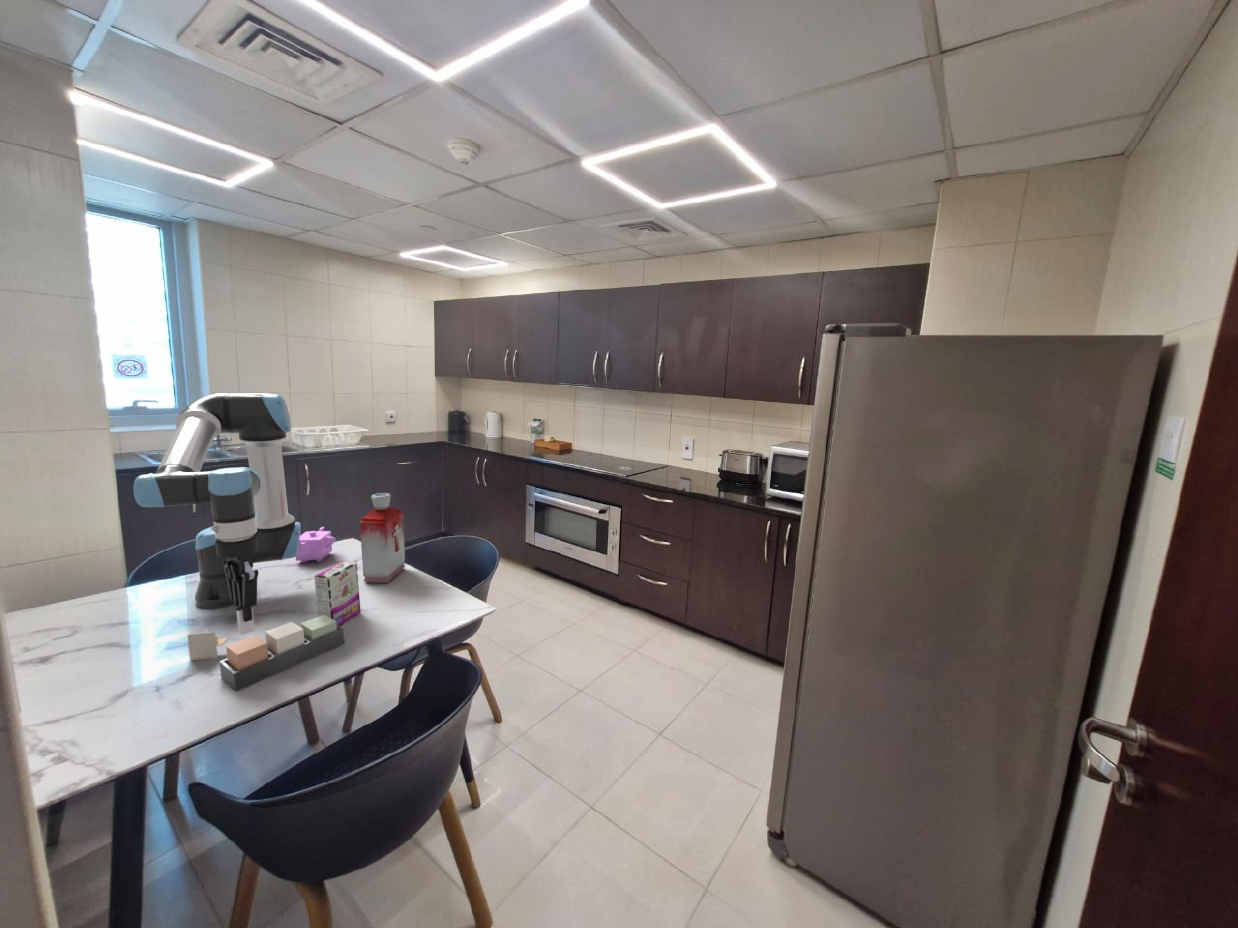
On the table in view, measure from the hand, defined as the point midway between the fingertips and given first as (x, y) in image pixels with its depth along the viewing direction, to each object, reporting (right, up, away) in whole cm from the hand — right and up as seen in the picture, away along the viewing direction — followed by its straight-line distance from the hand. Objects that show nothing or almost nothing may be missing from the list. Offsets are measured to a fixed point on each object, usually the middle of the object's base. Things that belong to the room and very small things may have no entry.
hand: (246, 631), depth 115 cm
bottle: (+4, -1, +60) cm, 60 cm away
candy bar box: (+6, -7, +28) cm, 30 cm away
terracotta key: (-1, -8, +1) cm, 8 cm away
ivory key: (+4, -7, +8) cm, 11 cm away
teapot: (-29, +3, +72) cm, 78 cm away
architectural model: (-17, -10, +9) cm, 22 cm away
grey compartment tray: (+4, -10, +9) cm, 14 cm away
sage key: (+8, -7, +15) cm, 18 cm away
